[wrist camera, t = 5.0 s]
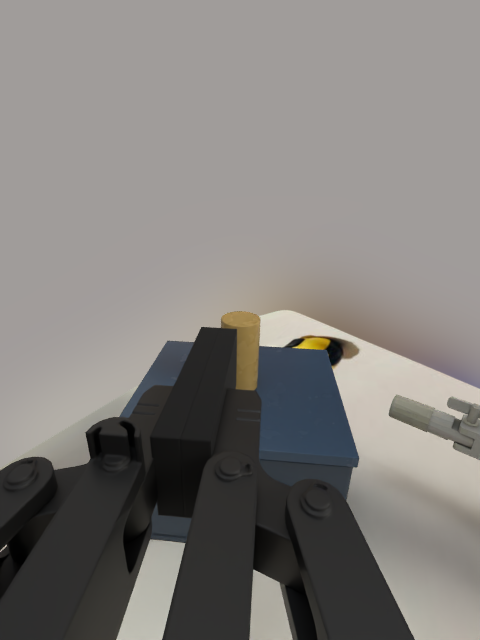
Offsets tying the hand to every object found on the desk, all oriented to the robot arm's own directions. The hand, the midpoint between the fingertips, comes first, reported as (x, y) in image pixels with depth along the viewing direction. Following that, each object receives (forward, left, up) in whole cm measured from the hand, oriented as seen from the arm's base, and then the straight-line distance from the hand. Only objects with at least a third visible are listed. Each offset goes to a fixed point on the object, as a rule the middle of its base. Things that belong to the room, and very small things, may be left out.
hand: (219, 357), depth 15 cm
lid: (0, +11, -10) cm, 15 cm away
